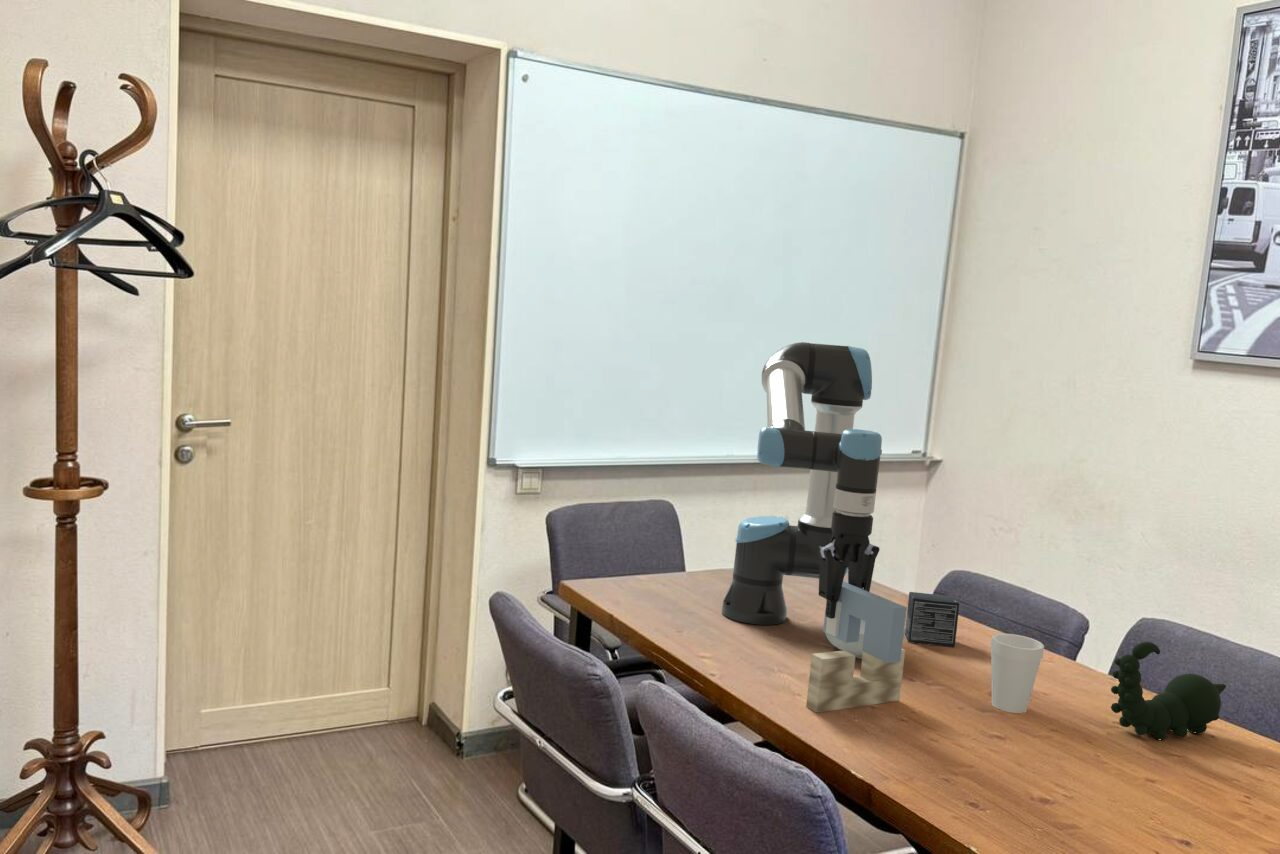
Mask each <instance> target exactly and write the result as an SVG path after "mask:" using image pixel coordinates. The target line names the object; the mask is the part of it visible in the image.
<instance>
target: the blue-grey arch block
mask: <svg viewBox="0 0 1280 854" xmlns="http://www.w3.org/2000/svg"><path fill="white" fill-rule="evenodd" d="M863 589H864V588H863ZM863 589H861V588H859V587H856V586H854V585H851V584H849V583H848V582H846V581H844V580H843V584H842V588H841V592H840V596H839V600H838V601H839V602H841V603H842V605H841V614H840V623H839V631H838V636H836V637H835V636H833V637H835V638H837V639H839V640H841V641H843V642H845V643H850V642H858V641H859V632H860V624H861V620H863V621H865V631H864V640H863V648H862V651H864V652H866V653H868V654H870V655H872V656H874V657H876V658H878V659H880V660H882V661H884V662H886V663H893V662H900V659H901V651H902V649H903V641H904V638H903V635H904V636H905V633H904V628H906V619H907V610H908V606H904V605H902V604H900V603H898V602H895V601H893V600H891V599H887V598H885V597H883V596H880V595H878V594H875V593H873V592H871V591H869V592H868V591H866V590H863ZM826 604H827V600H826V603H825V605H826ZM824 611H825V612H824V620H823V628H822V629H823V631H822V632H823V633H826V625H827V617H826V614H825V613H826V609H825V610H824ZM827 634H828V633H827ZM829 635H830V634H829ZM831 636H832V635H831Z"/></svg>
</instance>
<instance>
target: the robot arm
mask: <svg viewBox="0 0 1280 854" xmlns="http://www.w3.org/2000/svg"><path fill="white" fill-rule="evenodd" d="M872 372H873V371H872V363H871V357H870V354H869V352H868V351H867V349H864V348H861V347H856V346H850V345H835V344H827V343H825V344H824V343H822V344H821V343H811V342H794V343H792V344H788V345H785V346H784V347H781V348H780V349H778V350H776V351H775V352H774V353H773V354H771V356H770V357H769V358H768V359H767V360H766V362H765V363H764V366H763V368H762V372H761V385H762V387H763V391H764V392H765V393H766V417H767V418H766V419H767V422H766V423H767V426H764V427H762V428H760V429H759V433H758V440H757V441H758V442H757V457H756V459H757V461H758V462H759V464H762V465H766V466H773V467H775V468H779V467H781V468H790V469H791V468H792V469H802V470H803V469H804V470H810V471H809V472H810V473H809V479H808V480H809V481H808V488H807V489H808V490H807V496H806V497H807V499H806V508H805V512H804V513H803V514H802V515H800V516H799V517H798V520H797V525H790V521H789V519H787V518H786V517H783V516H775V515H774V516H773V515H768V516H767V515H761V516H754V517H748V518H745V519H743V520H741V521H740V523H739V524H738V527H737V534H736V537H735V554H734V561H733V570H732V579H731V583H730V585H729V587H728V589H727V591H726V594H725V596H724V598H723V600H722V605H721V613H722V614H723V616H725V617H726V618H728V619H731V620H734V621H736V622H740V623H744V624H749V625H750V624H751V625H758V626H759V625H762V626H768V625H769V626H772V625H779V624H782V623H784V622H786V620H787V614H788V610H787V604H786V599H785V596H784V591H783V578H784V576H790V577H802V578H809V579H818V596H819V597H821V598H823V599H824V600H826V601H827V604H826V603H825V610H826V613H825V612H824V615H825V614H826V617H827V625H826V633H828V634H830V635H832V636H835V637H836V636H838V631H839V623H840V614H841V605H842V603H841V602H839V601H838V600H839V596H840V592H841V588H842V584H843V581H844V579H845V576H846V574H847V573H848V574H847V575H848V576H847V579H848V580H847V581H848V582H847V583H849V584H851V585H854V586H856V587H859V588H861V589H863V590H866V591H868V592H871V585H872V579H873V575H874V568H875V563H876V559H877V557H878V555H879V553H880V546H877V545H874V544H872V543H871V542H870V538H869V536H870V535H872V531H873V522H874V516H872V515H871V514H874V512H875V505H876V494H877V485H878V477H879V469H880V462H881V455H882V453H883V450H882V443H883V437H882V435H881V434H880V433H879V432H875V431H872V430H866V429H855V428H854V424H855V423H854V422H855V415H856V413H857V412H859V411H860V410H861V409H862V408H863V405H864V401H868V400H869V399H871V396H872V390H873V389H872V388H873V373H872ZM803 394H806V395H811V400H810V403H811V404H812V406H813V407H814V408H815V409H816V416H815V426H814V431H813V430H812V431H811V430H806V427H805V414H804V413H805V412H804V405H803V401H804V400H803Z"/></svg>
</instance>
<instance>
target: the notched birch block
mask: <svg viewBox="0 0 1280 854" xmlns="http://www.w3.org/2000/svg"><path fill="white" fill-rule="evenodd" d="M855 657H856V656H855V655H853V654H851V653H849V652H847V651H845V650H843V651H842V650H837V651H836V650H834V651H825V652H816V653H811V660H810V670H809V679H808V689H807V696H806V703H805V704H806V705H805V706H806V708H808V709H810V710H811V711H813V712H815V713H818V714H819V713H825V712H832V711H839V710H845V709H851V708H858V707H865V706H874V705H879V704H880V705H881V704H885V703H892V702H900V697H901V690H902V689H901V688H902V682H903V681H902V680H903V673H904V665H905V657H906V649H904V648H902V651H901V659H900V662H893V663H886V662H884V661H882V660H880V659H878V658H876V657H874V656H872V655H870V654H868V653H866V652H864V651H863V656H862V659H861V667H860V673H859V674H860V675H859V676H854V672H855V665H856V658H855Z"/></svg>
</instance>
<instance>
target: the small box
mask: <svg viewBox="0 0 1280 854" xmlns="http://www.w3.org/2000/svg"><path fill="white" fill-rule="evenodd" d="M907 602H908V603H907V610H906V618H905V627H904V628H905V633H904V637H905V636H906V637H905V639H906V638H907V639H906V642H908V643H909V642H914V643H913V644H918V643H921V644H920V645H928V644H930V645H931V646H938V647H939V646H940V647H948V648H955V647H956V638H957V631H958V620H959V610H960V605H961V602H960V601H959V600H958V599H957V597H956V596H954V595H944V594H935V593H923V592H916V591H915V592H914V591H909V592H908V601H907ZM930 645H929V646H930Z"/></svg>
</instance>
